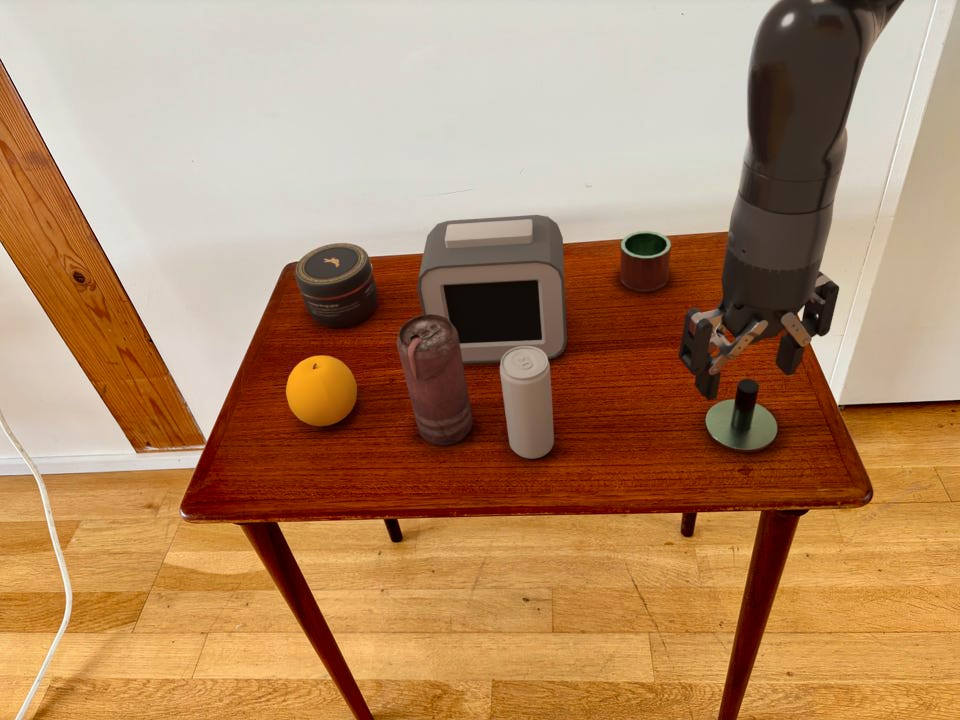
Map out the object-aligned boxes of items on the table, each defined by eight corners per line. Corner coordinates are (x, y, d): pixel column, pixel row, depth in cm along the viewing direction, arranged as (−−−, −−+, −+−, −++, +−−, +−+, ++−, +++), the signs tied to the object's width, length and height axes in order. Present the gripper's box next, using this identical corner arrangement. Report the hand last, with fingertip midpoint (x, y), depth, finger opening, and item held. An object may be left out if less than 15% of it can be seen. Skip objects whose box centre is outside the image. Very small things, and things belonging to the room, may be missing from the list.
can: (410, 445, 77) (384, 349, 68) (430, 404, 82) (408, 308, 73) (462, 453, 76) (443, 356, 66) (480, 411, 80) (464, 314, 71)
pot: (654, 260, 98) (656, 226, 94) (676, 284, 93) (679, 249, 89) (612, 272, 97) (613, 238, 93) (633, 297, 92) (634, 262, 89)
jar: (327, 284, 102) (313, 239, 97) (391, 289, 100) (380, 243, 94) (296, 328, 95) (279, 282, 90) (364, 335, 93) (350, 288, 88)
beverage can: (543, 421, 78) (536, 338, 70) (562, 452, 74) (558, 368, 66) (502, 436, 77) (491, 354, 69) (520, 468, 73) (510, 385, 65)
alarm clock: (433, 365, 87) (410, 258, 76) (442, 307, 95) (423, 204, 85) (567, 359, 85) (563, 249, 74) (565, 301, 93) (560, 195, 83)
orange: (295, 396, 85) (276, 349, 80) (359, 381, 86) (345, 334, 81) (296, 444, 80) (276, 397, 75) (365, 428, 80) (350, 380, 75)
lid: (750, 398, 77) (759, 353, 73) (790, 443, 72) (802, 398, 67) (691, 417, 76) (697, 372, 71) (728, 464, 71) (736, 419, 66)
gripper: (723, 288, 54) (701, 429, 65) (882, 241, 57) (835, 386, 68) (674, 239, 60) (661, 377, 71) (821, 198, 62) (786, 338, 73)
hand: (746, 381), depth 69 cm, fingers open, 8 cm apart
